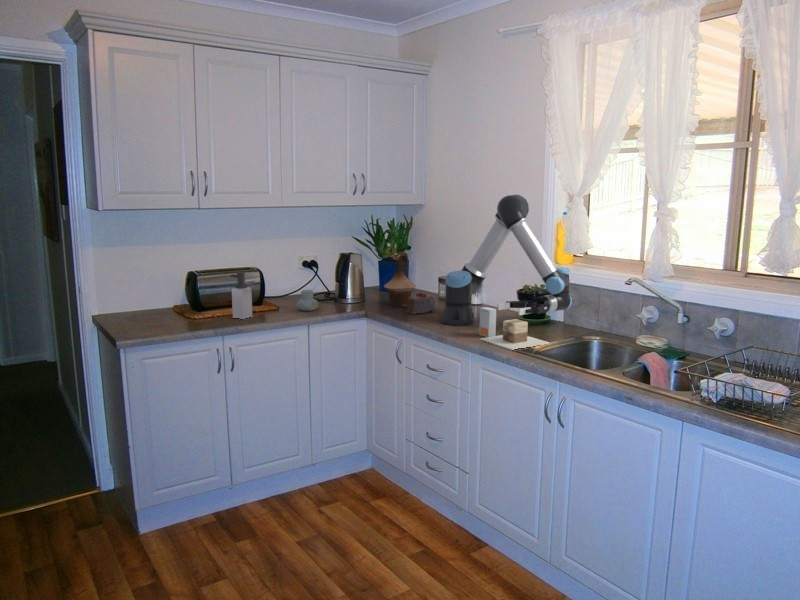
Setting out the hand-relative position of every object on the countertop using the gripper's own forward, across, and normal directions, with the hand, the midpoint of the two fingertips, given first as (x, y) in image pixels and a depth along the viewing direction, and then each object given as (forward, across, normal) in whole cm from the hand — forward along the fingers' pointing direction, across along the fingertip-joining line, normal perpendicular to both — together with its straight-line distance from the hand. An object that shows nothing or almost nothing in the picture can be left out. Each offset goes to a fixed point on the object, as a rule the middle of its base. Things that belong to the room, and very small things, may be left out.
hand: (508, 309), depth 276 cm
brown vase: (+7, +79, -10) cm, 80 cm away
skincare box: (+11, +1, -11) cm, 15 cm away
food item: (+8, +57, -10) cm, 58 cm away
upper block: (+8, -13, -6) cm, 16 cm away
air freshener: (+55, +91, -9) cm, 106 cm away
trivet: (+8, -13, -11) cm, 19 cm away
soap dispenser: (+90, +90, -8) cm, 127 cm away
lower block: (+8, -13, -10) cm, 18 cm away
